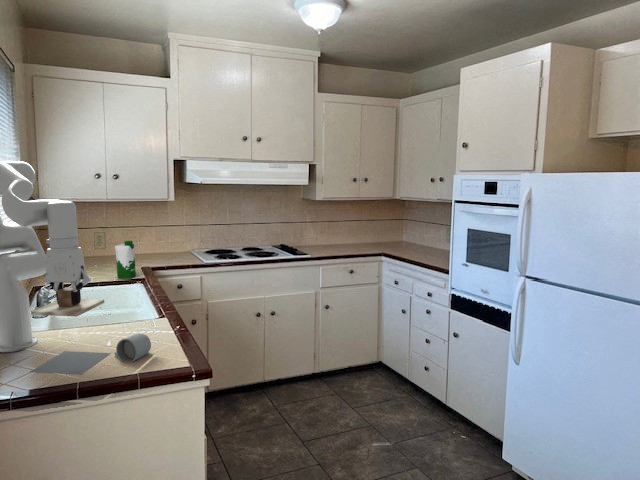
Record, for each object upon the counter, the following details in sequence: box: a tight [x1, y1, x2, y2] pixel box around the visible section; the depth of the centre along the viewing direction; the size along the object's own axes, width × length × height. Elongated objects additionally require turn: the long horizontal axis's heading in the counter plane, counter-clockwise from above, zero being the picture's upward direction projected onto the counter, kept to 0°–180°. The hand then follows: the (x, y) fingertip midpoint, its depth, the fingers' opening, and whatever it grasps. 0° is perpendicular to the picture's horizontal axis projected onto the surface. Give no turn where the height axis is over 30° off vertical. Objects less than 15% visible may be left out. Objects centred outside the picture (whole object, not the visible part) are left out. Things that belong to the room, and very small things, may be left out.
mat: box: [29, 350, 112, 376], centre depth 146 cm, size 16×16×1 cm
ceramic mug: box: [114, 333, 152, 363], centre depth 150 cm, size 11×8×8 cm
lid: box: [30, 286, 105, 318], centre depth 143 cm, size 14×14×6 cm
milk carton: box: [114, 240, 137, 280], centre depth 259 cm, size 9×9×20 cm
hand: (69, 302), depth 143 cm, fingers closed on lid, 4 cm apart
